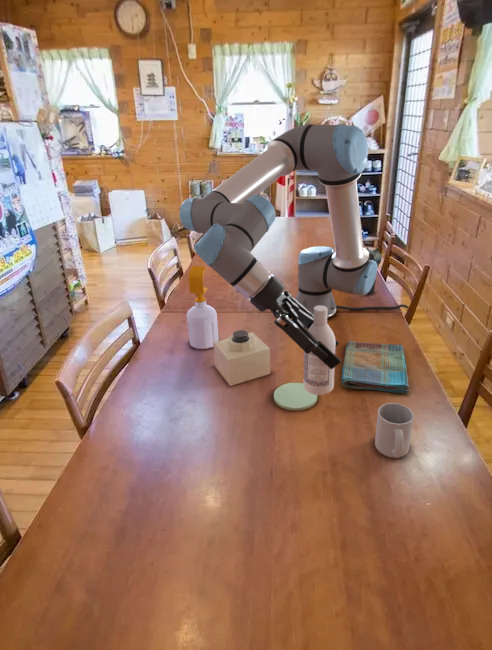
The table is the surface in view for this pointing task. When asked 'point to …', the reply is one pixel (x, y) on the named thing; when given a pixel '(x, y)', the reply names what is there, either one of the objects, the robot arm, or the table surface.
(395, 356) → the dish towel
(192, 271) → the spray bottle
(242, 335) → the push button
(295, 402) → the mat
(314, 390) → the bath foam
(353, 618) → the table surface
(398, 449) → the cup
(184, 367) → the table surface
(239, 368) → the push button box
